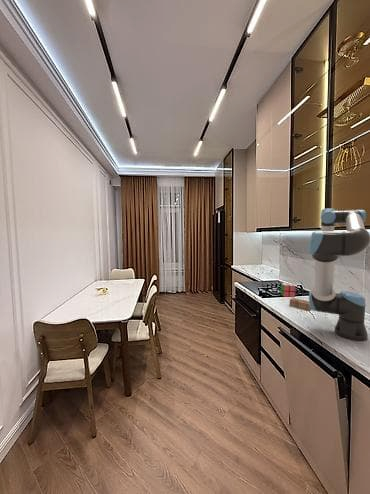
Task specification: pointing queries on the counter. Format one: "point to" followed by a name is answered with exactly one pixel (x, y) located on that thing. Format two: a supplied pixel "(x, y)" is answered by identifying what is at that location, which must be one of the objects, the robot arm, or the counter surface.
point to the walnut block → (300, 304)
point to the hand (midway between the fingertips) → (325, 268)
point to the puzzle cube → (288, 289)
